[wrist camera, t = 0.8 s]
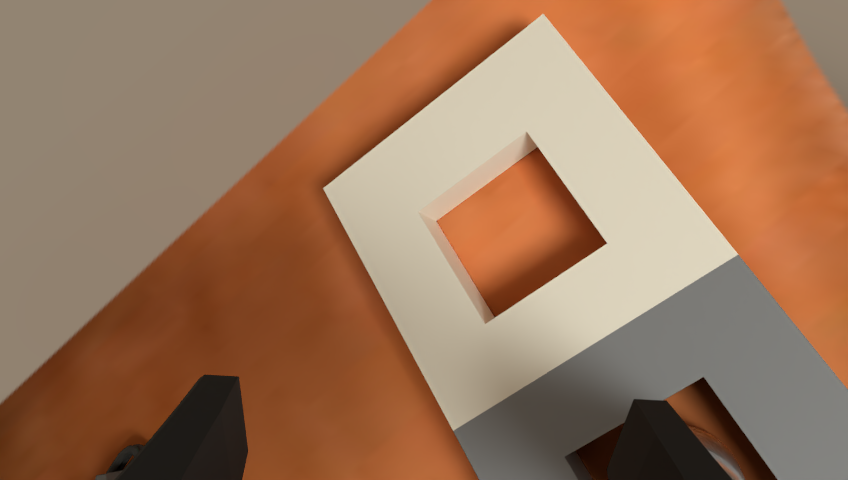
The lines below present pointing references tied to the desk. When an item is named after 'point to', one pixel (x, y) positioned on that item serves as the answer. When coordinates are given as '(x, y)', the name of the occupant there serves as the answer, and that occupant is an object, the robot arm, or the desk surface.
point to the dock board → (577, 282)
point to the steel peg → (719, 453)
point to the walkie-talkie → (120, 462)
